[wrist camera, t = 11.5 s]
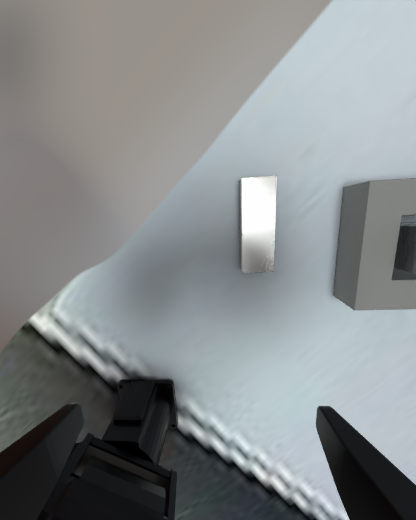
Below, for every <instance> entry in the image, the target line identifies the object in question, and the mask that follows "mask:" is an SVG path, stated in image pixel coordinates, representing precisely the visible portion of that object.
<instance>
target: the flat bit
mask: <svg viewBox="0 0 416 520" xmlns="http://www.w3.org/2000/svg"><path fill="white" fill-rule="evenodd" d="M276 182H277V176H264V177H248V178H241V179H240V269H241V271H242V273H246V272H274V249H275V215H276Z"/></svg>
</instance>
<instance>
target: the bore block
mask: <svg viewBox="0 0 416 520" xmlns="http://www.w3.org/2000/svg"><path fill="white" fill-rule="evenodd" d="M402 215H416V178H411V179H395V180H380V181H369V182H364V183H360V184H356V185H351V186H347V187H344V190H343V200H342V211H341V221H340V232H339V243H338V253H337V264H336V274H335V285H334V296H335V297H336V298H337V299H339V300H340V301H342V302H343V303H345V304H346V305H347V306H349V307H350V308H352V309H353V310H396V309H416V274H413V273H409V272H406V271H403V270H399V269H393V267H394V261H395V255H396V249H397V243H398V236H399V230H400V224H401V218H402Z"/></svg>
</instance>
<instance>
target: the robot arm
mask: <svg viewBox="0 0 416 520" xmlns="http://www.w3.org/2000/svg"><path fill="white" fill-rule="evenodd" d="M168 385H169V386H168ZM117 390H118V395H119V400H120V404H119V406H118V408H117V410H116V412H115V414H114V415H113V419H112V421H111V422H110V424H109V426H108V428H107V430H106V432H105V434H104V436H103V438H102V439H101V440H100V439H98V438H96V437H93V436H94V435H92V434H90V433H88V434H87V436H86V437H85V439H84V440H83V441H82V442H80V443H76V444H75V442H76V440H77V438H78V436H79V433H80V431H81V429H82V427H83V423H84V417H83V413H82V409H81V405H80V404H79V403H68V404H66V405H65V406H64V407H62V408H61V409H59V410H58V411H57V412H55V413H54V414H53V415H51V416H50V417H48V418H47V419H46V420H44V421H43V422H42V423H40V424H39V425H37V426H36V427H35V428H33V429H32V430H31V431H29V432H28V433H26V434H25V435H24V436H22V437H21V438H20V439H18V440H17V441H16V442H14V443H13V444H11V445H10V446H9V447H7V448H6V449H5V450H3V451H2V452H0V520H174V516H175V499H176V482H177V472H176V471H174V470H172V469H171V470H168V469H166V468H164V467H161V466H159V465H158V464H159V460H160V456H161V452H162V448H163V444H164V440H165V436H166V432H167V429H175V428H177V425H178V418H177V409H176V400H175V392H174V384H173V382H172V381H169V380H121V381H119V383H118V385H117ZM316 428H317V432H318V435H319V438H320V441H321V444H322V447H323V450H324V452H325V455H326V458H327V461H328V464H329V467H330V470H331V473H332V476H333V479H334V482H335V485H336V487H337V490H338V493H339V495H340V498H341V500H342V503H343V505H344V507H345V510H346V512H347V515H348V517H349V519H350V520H416V485H415V484H414V483H413V482H412V481H411V480H410V479H408V478H407V477H406V476H405V475H404V474H403V473H402V472H401V471H400V470H399V469H398V468H397V467H396V466H394V465H393V464H392V463H391V462H390V461H389V460H388V459H387V458H386V457H385V456H384V455H383V454H381V453H380V452H379V451H378V450H377V449H376V448H375V447H374V446H373V445H372V444H371V443H370V442H368V441H367V440H366V439H365V438H364V437H363V436H362V435H361V434H360V433H359V432H358V431H357V430H355V429H354V428H353V427H352V426H351V425H350V424H349V423H348V422H347V421H346V420H345V419H344V418H343V417H341V416H340V415H339V414H338V413H337V412H336V411H335V410H334V409H333V408H331V407H330V406H318V408H317V417H316Z"/></svg>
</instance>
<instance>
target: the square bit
mask: <svg viewBox="0 0 416 520" xmlns="http://www.w3.org/2000/svg"><path fill="white" fill-rule="evenodd" d="M393 268H396V269H399V270H403V271H406V272H409V273H413V274H416V222H413V223H401V224H400V230H399V236H398V243H397V249H396V255H395V261H394V267H393Z"/></svg>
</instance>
